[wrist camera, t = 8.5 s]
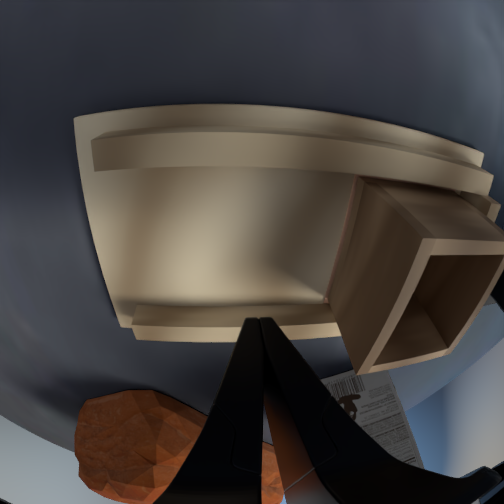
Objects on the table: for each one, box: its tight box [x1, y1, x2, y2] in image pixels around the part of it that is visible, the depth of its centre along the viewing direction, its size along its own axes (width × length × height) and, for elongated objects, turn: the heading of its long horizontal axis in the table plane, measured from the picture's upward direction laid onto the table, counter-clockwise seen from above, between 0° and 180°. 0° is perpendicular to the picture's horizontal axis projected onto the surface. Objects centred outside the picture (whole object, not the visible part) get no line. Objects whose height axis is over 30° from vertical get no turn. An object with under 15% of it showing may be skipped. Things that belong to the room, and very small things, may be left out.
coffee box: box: [321, 370, 424, 469], centre depth 17 cm, size 9×6×16 cm
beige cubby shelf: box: [74, 104, 501, 342], centre depth 13 cm, size 20×12×3 cm, turn 87°
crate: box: [328, 177, 504, 375], centre depth 12 cm, size 6×7×5 cm
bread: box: [75, 390, 284, 504], centre depth 25 cm, size 16×27×11 cm, turn 30°
